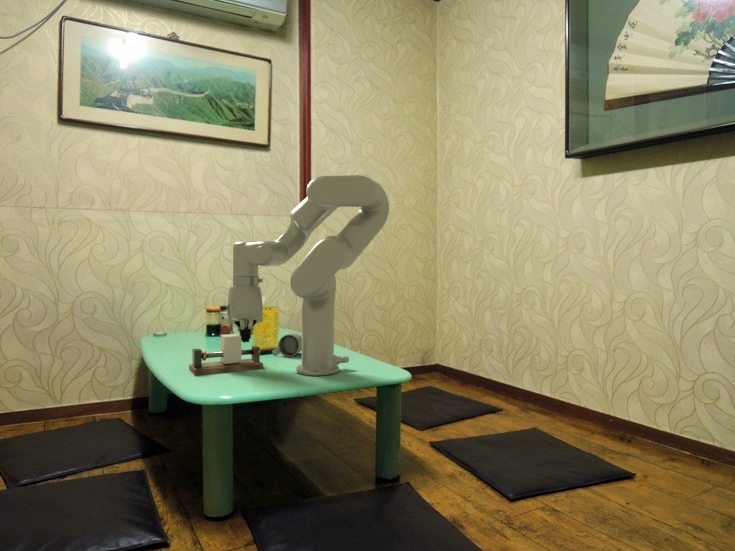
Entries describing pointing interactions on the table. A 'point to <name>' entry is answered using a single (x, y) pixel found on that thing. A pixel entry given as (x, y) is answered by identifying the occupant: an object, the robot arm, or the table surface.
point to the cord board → (229, 365)
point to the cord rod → (210, 356)
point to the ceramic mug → (289, 345)
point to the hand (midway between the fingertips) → (245, 341)
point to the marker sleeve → (231, 348)
